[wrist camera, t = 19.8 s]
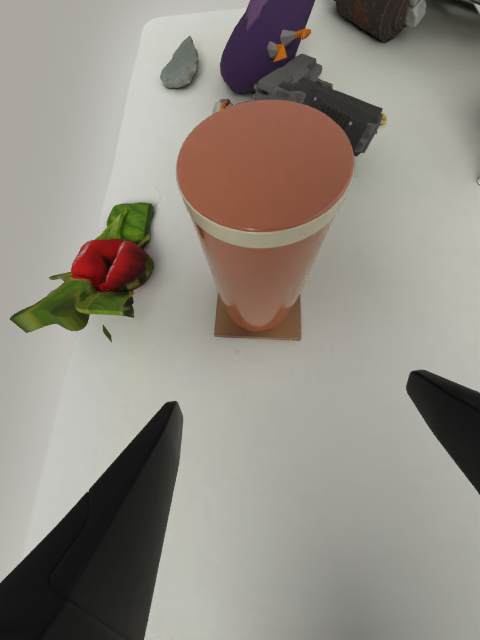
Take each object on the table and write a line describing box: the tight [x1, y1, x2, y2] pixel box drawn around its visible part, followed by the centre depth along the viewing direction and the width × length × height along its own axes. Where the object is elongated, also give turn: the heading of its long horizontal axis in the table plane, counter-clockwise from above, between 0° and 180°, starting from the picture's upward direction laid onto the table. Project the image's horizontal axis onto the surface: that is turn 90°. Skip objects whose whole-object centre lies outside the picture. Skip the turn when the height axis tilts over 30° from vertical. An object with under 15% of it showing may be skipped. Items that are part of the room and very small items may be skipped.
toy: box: [220, 0, 315, 93], centre depth 25 cm, size 11×12×7 cm
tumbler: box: [176, 99, 355, 331], centre depth 13 cm, size 6×6×12 cm
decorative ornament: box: [10, 203, 154, 342], centre depth 19 cm, size 15×5×10 cm
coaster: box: [214, 292, 301, 340], centre depth 19 cm, size 7×7×1 cm
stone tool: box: [160, 36, 198, 89], centre depth 29 cm, size 9×2×5 cm
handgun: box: [252, 54, 383, 156], centre depth 23 cm, size 3×16×12 cm
